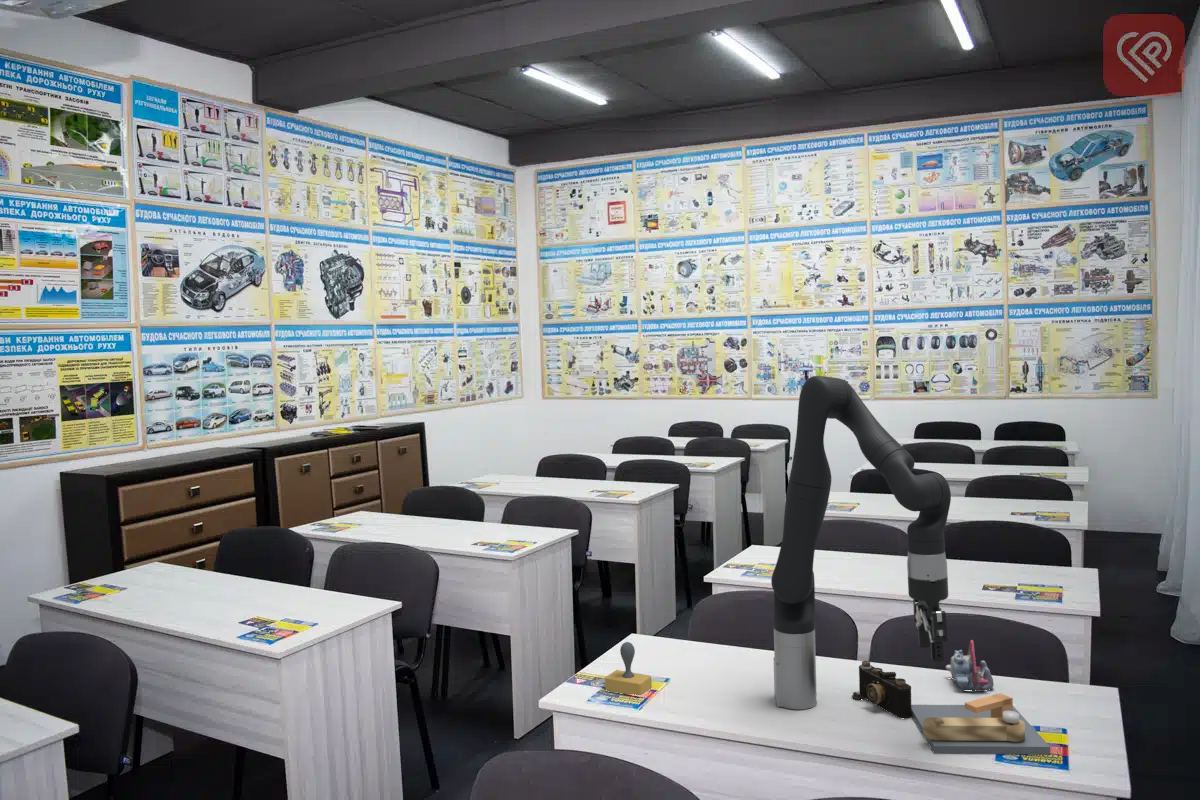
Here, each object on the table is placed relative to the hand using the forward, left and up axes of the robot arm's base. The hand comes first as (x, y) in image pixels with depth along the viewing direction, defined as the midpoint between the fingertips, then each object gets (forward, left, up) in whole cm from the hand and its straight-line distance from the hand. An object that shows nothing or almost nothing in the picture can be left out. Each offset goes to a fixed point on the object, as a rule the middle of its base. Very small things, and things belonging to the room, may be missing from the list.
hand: (931, 653), depth 181 cm
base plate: (+10, +7, -19) cm, 23 cm away
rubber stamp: (-64, +30, -19) cm, 73 cm away
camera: (-6, +21, -19) cm, 29 cm away
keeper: (+13, +6, -17) cm, 23 cm away
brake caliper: (+17, +33, -19) cm, 42 cm away
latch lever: (+8, +1, -17) cm, 19 cm away
